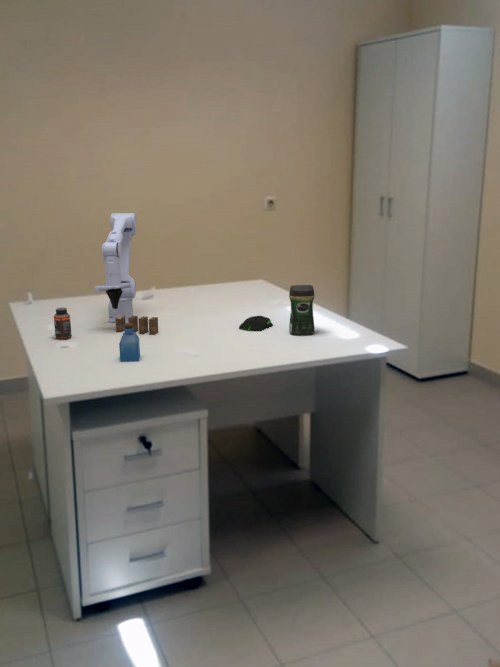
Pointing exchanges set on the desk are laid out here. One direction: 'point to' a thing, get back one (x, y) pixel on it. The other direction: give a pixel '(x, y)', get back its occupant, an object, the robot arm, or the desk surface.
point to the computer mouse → (256, 323)
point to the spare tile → (120, 323)
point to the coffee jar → (301, 310)
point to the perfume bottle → (129, 344)
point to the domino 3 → (153, 325)
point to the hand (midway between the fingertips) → (115, 308)
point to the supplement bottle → (62, 324)
